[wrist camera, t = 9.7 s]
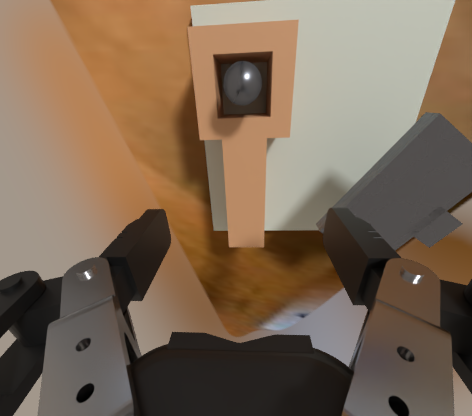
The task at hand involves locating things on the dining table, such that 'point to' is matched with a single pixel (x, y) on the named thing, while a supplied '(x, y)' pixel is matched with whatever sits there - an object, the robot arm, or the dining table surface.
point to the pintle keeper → (396, 173)
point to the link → (244, 125)
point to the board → (332, 97)
